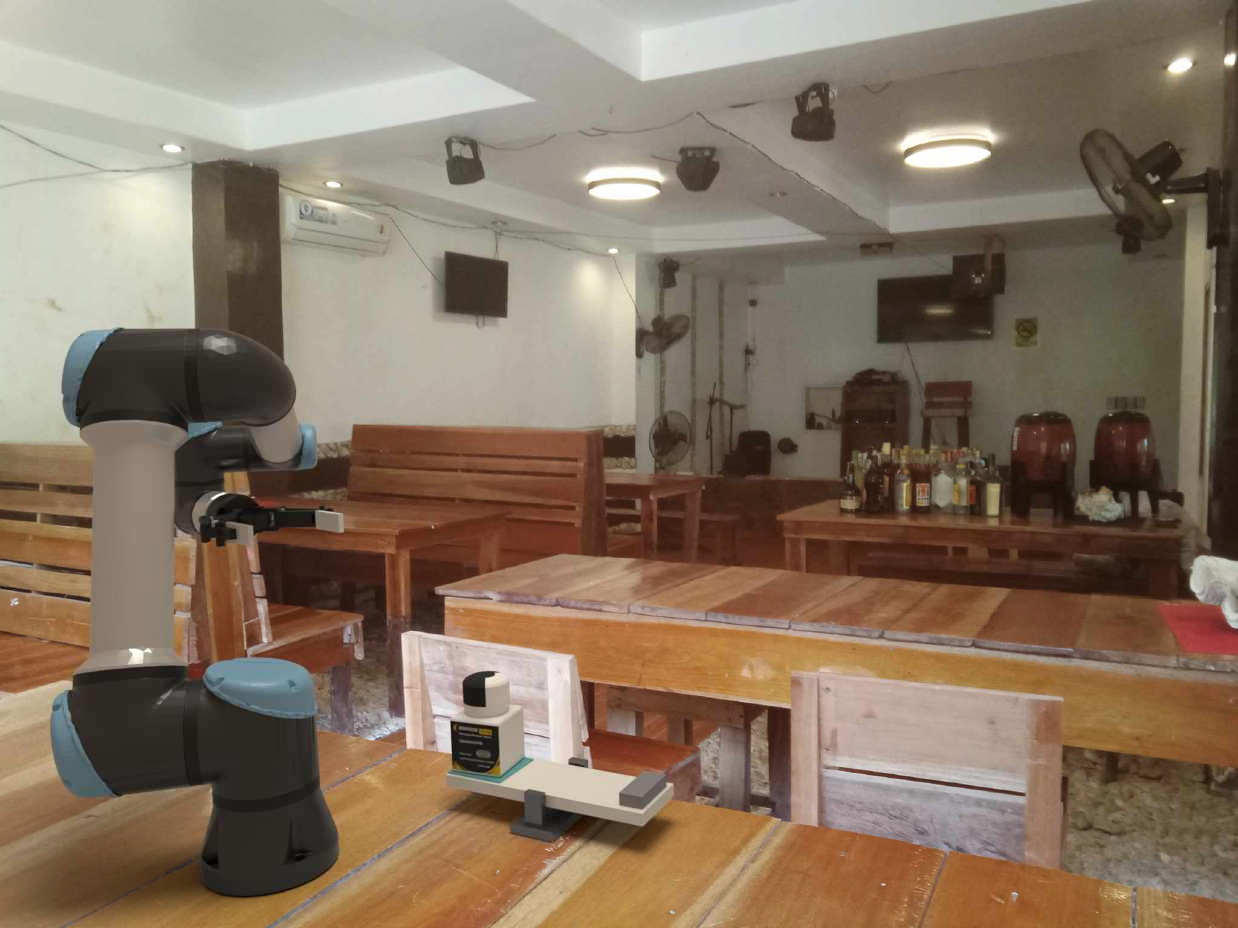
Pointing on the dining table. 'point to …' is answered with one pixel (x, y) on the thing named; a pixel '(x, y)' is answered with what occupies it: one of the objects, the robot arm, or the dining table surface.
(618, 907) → the dining table surface
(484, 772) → the medicine bottle
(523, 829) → the fulcrum
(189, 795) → the dining table surface
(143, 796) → the dining table surface
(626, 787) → the beam
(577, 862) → the dining table surface
